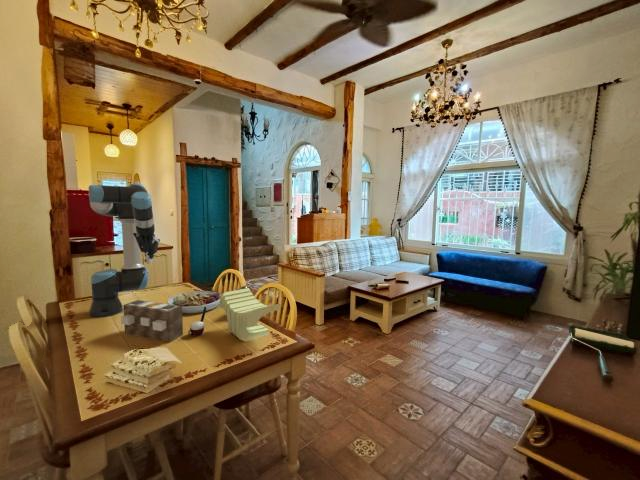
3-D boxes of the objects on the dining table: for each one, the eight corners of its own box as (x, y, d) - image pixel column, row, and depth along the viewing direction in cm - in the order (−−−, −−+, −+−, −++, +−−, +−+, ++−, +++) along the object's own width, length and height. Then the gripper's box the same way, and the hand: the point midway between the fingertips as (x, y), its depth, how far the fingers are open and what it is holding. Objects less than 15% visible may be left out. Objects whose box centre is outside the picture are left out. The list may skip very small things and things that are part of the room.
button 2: (152, 329, 131) (152, 322, 131) (158, 326, 134) (158, 319, 134) (160, 331, 130) (160, 323, 129) (166, 328, 133) (166, 320, 132)
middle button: (140, 324, 135) (140, 317, 135) (146, 322, 139) (146, 315, 138) (148, 326, 134) (148, 319, 134) (154, 323, 137) (153, 316, 137)
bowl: (161, 317, 161) (160, 303, 160) (174, 299, 190) (174, 287, 189) (219, 314, 168) (219, 300, 167) (223, 297, 197) (223, 285, 196)
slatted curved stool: (220, 327, 150) (219, 293, 148) (248, 320, 160) (248, 287, 158) (248, 350, 128) (248, 310, 125) (279, 340, 138) (279, 303, 136)
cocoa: (189, 339, 137) (187, 315, 135) (186, 334, 142) (184, 310, 140) (210, 334, 142) (209, 310, 140) (207, 328, 147) (205, 306, 145)
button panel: (124, 333, 140) (123, 303, 138) (139, 327, 148) (138, 298, 146) (170, 342, 133) (168, 310, 131) (182, 334, 141) (182, 305, 139)
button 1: (121, 323, 136) (120, 316, 136) (127, 321, 139) (127, 314, 139) (128, 325, 135) (128, 318, 134) (134, 322, 138) (134, 315, 137)
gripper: (126, 223, 135) (133, 262, 149) (151, 233, 134) (156, 271, 148) (138, 216, 141) (144, 253, 155) (162, 225, 140) (166, 262, 154)
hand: (150, 262), depth 151 cm, fingers closed
